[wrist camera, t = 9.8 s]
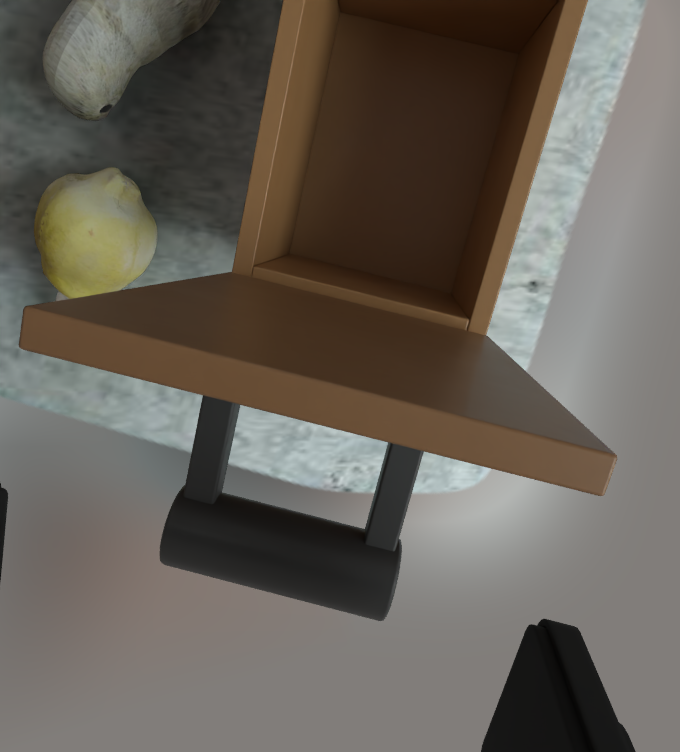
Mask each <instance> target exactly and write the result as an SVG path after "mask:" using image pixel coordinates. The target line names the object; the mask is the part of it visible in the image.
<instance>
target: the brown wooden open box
mask: <svg viewBox="0 0 680 752" xmlns="http://www.w3.org/2000/svg"><path fill="white" fill-rule="evenodd" d="M587 2H588V0H283V4H282V9H281V14H280V20H279V25H278V30H277V36H276V41H275V46H274V52H273V57H272V62H271V68H270V73H269V78H268V83H267V89H266V94H265V99H264V105H263V110H262V115H261V121H260V126H259V131H258V137H257V142H256V147H255V153H254V158H253V163H252V168H251V174H250V179H249V184H248V190H247V195H246V200H245V206H244V211H243V216H242V222H241V227H240V232H239V238H238V243H237V248H236V254H235V259H234V264H233V269H232V272H233V273H237V274H241V275H245V276H249V277H253V278H257V279H261V280H265V281H269V282H273V283H277V284H281V285H285V286H289V287H293V288H297V289H301V290H305V291H309V292H313V293H317V294H321V295H325V296H329V297H333V298H337V299H341V300H345V301H349V302H353V303H357V304H361V305H365V306H369V307H374V308H378V309H382V310H386V311H390V312H394V313H398V314H402V315H406V316H410V317H414V318H418V319H422V320H426V321H430V322H434V323H438V324H442V325H446V326H450V327H454V328H458V329H462V330H466V331H470V332H474V333H478V334H482V335H486V334H487V331H488V327H489V324H490V321H491V318H492V314H493V311H494V308H495V304H496V301H497V298H498V295H499V291H500V288H501V285H502V281H503V278H504V275H505V272H506V268H507V265H508V262H509V258H510V255H511V252H512V248H513V245H514V242H515V239H516V235H517V232H518V229H519V225H520V222H521V219H522V216H523V212H524V209H525V206H526V202H527V199H528V196H529V193H530V189H531V186H532V183H533V179H534V176H535V173H536V170H537V166H538V163H539V160H540V156H541V153H542V150H543V147H544V143H545V140H546V137H547V133H548V130H549V127H550V123H551V120H552V117H553V114H554V110H555V107H556V104H557V100H558V97H559V94H560V91H561V87H562V84H563V81H564V77H565V74H566V71H567V68H568V64H569V61H570V58H571V54H572V51H573V48H574V45H575V41H576V38H577V35H578V31H579V28H580V25H581V22H582V18H583V15H584V12H585V8H586V5H587Z"/></svg>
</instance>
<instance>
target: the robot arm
mask: <svg viewBox="0 0 680 752" xmlns="http://www.w3.org/2000/svg"><path fill="white" fill-rule="evenodd" d="M7 502H8V493H7V490H5V489H4V488H1V483H0V580H1V568H2V558H3V546H4V536H5V524H6V513H7ZM481 752H635V749H634V747H633V745H632V742H631V740H630V738H629V735H628V733H627V732H626V730H625V728H624V727H623V725H621V724H620V723H619V722H618V720H617V717H616V715H615V713H614V711H613V708H612V706H611V703H610V701H609V699H608V696H607V694H606V692H605V690H604V687H603V684H602V682H601V680H600V677H599V675H598V673H597V671H596V668H595V666H594V663H593V661H592V659H591V656H590V654H589V652H588V649H587V647H586V645H585V642H584V640H583V638H582V636H581V633H580V631H579V630H578V628H576V627H574V626H571V625H567V624H563V623H559V622H555V621H551V620H547V619H542V620H541V621H540V622H539V623H538V625H537V626H536V625H529V626H528V627H527V629H526V631H525V634H524V636H523V639H522V641H521V644H520V647H519V650H518V652H517V655H516V658H515V660H514V663H513V665H512V668H511V671H510V673H509V676H508V678H507V681H506V684H505V686H504V689H503V692H502V694H501V697H500V699H499V702H498V705H497V708H496V710H495V713H494V715H493V718H492V721H491V723H490V726H489V728H488V731H487V734H486V736H485V739H484V742H483V745H482V750H481Z"/></svg>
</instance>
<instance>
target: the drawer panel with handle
mask: <svg viewBox="0 0 680 752" xmlns="http://www.w3.org/2000/svg"><path fill="white" fill-rule="evenodd" d="M19 347H20V348H21V349H23V350H27V351H31V352H35V353H39V354H43V355H47V356H51V357H55V358H59V359H63V360H67V361H70V362H74V363H78V364H82V365H86V366H90V367H94V368H98V369H102V370H106V371H110V372H114V373H118V374H122V375H126V376H129V377H133V378H137V379H141V380H145V381H149V382H153V383H157V384H161V385H165V386H169V387H173V388H177V389H181V390H185V391H188V392H192V393H196V394H200V395H203V398H202V403H201V408H200V413H199V419H198V424H197V429H196V434H195V439H194V444H193V449H192V454H191V459H190V464H189V469H188V475H187V479H186V484H185V485H184V486H183V487H182V489H181V490H180V491H179V493H178V494H177V496H176V498H175V500H174V502H173V504H172V506H171V509H170V511H169V514H168V517H167V520H166V523H165V526H164V530H163V534H162V539H161V544H160V561H161V562H162V563H163V564H164V565H167V566H171V567H175V568H179V569H183V570H187V571H190V572H194V573H198V574H202V575H206V576H210V577H213V578H217V579H221V580H225V581H229V582H232V583H236V584H240V585H244V586H248V587H251V588H255V589H259V590H263V591H267V592H271V593H275V594H278V595H282V596H286V597H290V598H294V599H297V600H301V601H305V602H309V603H313V604H316V605H320V606H324V607H328V608H332V609H336V610H339V611H343V612H347V613H351V614H355V615H358V616H362V617H366V618H370V619H374V620H378V621H382V620H384V619H385V617H386V616H387V614H388V612H389V609H390V606H391V603H392V600H393V596H394V593H395V588H396V584H397V580H398V574H399V569H400V562H401V553H402V545H401V540H400V539H399V536H400V533H401V529H402V525H403V522H404V518H405V515H406V511H407V508H408V504H409V501H410V497H411V494H412V490H413V487H414V483H415V480H416V476H417V473H418V469H419V466H420V462H421V459H422V455H423V452H424V451H425V452H428V453H432V454H436V455H440V456H444V457H448V458H452V459H456V460H460V461H464V462H468V463H472V464H476V465H480V466H484V467H487V468H491V469H496V470H499V471H503V472H507V473H511V474H515V475H519V476H523V477H527V478H531V479H535V480H539V481H543V482H547V483H550V484H555V485H558V486H563V487H566V488H570V489H574V490H578V491H582V492H586V493H590V494H594V495H598V496H603V495H604V494H605V492H606V489H607V486H608V483H609V480H610V477H611V475H612V472H613V469H614V466H615V464H616V461H617V455H616V454H615V453H613V452H612V451H611V450H610V449H609V448H608V447H607V446H606V445H605V444H604V443H603V442H602V441H600V440H599V439H598V438H597V437H596V436H595V435H594V434H593V433H592V432H591V431H590V430H589V429H587V428H586V427H585V426H584V425H583V424H582V423H581V422H580V421H579V420H578V419H577V418H576V417H575V416H573V415H572V414H571V413H570V412H569V411H568V410H567V409H566V408H565V407H564V406H563V405H562V404H561V403H559V402H558V401H557V400H556V399H555V398H554V397H553V396H552V395H551V394H550V393H549V392H547V391H546V390H545V389H544V388H543V387H542V386H541V385H540V384H539V383H538V382H537V381H536V380H534V379H533V378H532V377H531V376H530V375H529V374H528V373H527V372H526V371H525V370H524V369H523V368H521V367H520V366H519V365H518V364H517V363H516V362H515V361H514V360H513V359H512V358H511V357H510V356H508V355H507V354H506V353H505V352H504V351H503V350H502V349H501V348H500V347H499V346H498V345H497V344H495V343H494V342H493V341H492V340H491V339H490V338H489V337H488V336H486V335H482V334H478V333H474V332H470V331H466V330H462V329H458V328H454V327H450V326H446V325H442V324H438V323H434V322H430V321H426V320H422V319H418V318H414V317H410V316H406V315H402V314H398V313H394V312H390V311H386V310H382V309H378V308H374V307H369V306H365V305H361V304H357V303H353V302H349V301H345V300H341V299H337V298H333V297H329V296H325V295H321V294H317V293H313V292H309V291H305V290H301V289H297V288H293V287H289V286H285V285H281V284H277V283H273V282H269V281H265V280H261V279H257V278H253V277H249V276H245V275H241V274H237V273H233V272H228V273H222V274H216V275H210V276H204V277H198V278H192V279H186V280H180V281H174V282H168V283H162V284H156V285H150V286H144V287H138V288H132V289H126V290H120V291H114V292H108V293H102V294H96V295H90V296H84V297H78V298H72V299H66V300H60V301H54V302H48V303H42V304H36V305H30V306H25V308H24V310H23V317H22V324H21V332H20V340H19ZM240 405H244V406H247V407H251V408H255V409H259V410H263V411H267V412H271V413H275V414H279V415H283V416H287V417H291V418H295V419H299V420H303V421H307V422H310V423H314V424H318V425H322V426H326V427H330V428H334V429H338V430H342V431H346V432H350V433H354V434H358V435H362V436H366V437H369V438H373V439H377V440H381V441H385V442H388V446H387V449H386V453H385V457H384V461H383V464H382V468H381V472H380V475H379V479H378V483H377V486H376V490H375V494H374V498H373V501H372V505H371V509H370V512H369V516H368V520H367V524H366V527H365V529H362V528H358V527H354V526H350V525H346V524H342V523H339V522H335V521H331V520H327V519H323V518H319V517H315V516H311V515H308V514H304V513H300V512H296V511H292V510H288V509H284V508H280V507H276V506H272V505H269V504H265V503H261V502H257V501H253V500H249V499H246V498H242V497H238V496H234V495H230V494H226V493H222V489H223V483H224V479H225V474H226V470H227V465H228V460H229V455H230V451H231V446H232V441H233V437H234V432H235V427H236V422H237V418H238V413H239V408H240Z"/></svg>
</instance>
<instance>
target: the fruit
mask: <svg viewBox="0 0 680 752" xmlns="http://www.w3.org/2000/svg"><path fill="white" fill-rule="evenodd" d="M140 193H141V192H140V189H139V188H138V186H137V185H136V184H135V183H134V182H133V181H132V180H131V179H129V178H127V177H126V176H124V175H123V174H122V173H121V171H120V170H119V169H117V168H114V167H109V168H106V169H104V170H101V171H98V172H95V173H92V174H88V175H82V174H79V173H72V174H67V175H65V176H63V177H60V178H58V179H57V180H55V181H54V182H53V183H51V184H50V185H49V186H48V187H47V189H46V190H45V191H44V193H43V195H42V196H41V199H40V202H39V205H38V208H37V212H36V217H35V223H34V236H35V242H36V245H37V248H38V250H39V252H40V254H41V263H42V268H43V274H44V275H45V276H46V277H47V278H48V279H49V281H50V282H51V283H52V284H53V285H54V286H55V288H56V289H57V290H58V294H57V296H56V299H55V301H60V300H66V299H72V298H78V297H84V296H90V295H96V294H102V293H108V292H114V291H119V290H121V289H122V288H124V287H125V286H127V285H128V284H129V283H131V282H132V281H134V280H135V279H136V278H137V277H139V276H140V275H141V274H142V273H143V272H144V271H145V270H146V268H147V267H148V265H149V264H150V262H151V260H152V258H153V255H154V252H155V250H156V245H157V226H156V223H155V220H154V218H153V216H152V215H151V213H150V212H149V211H148V209H147V208H146V207H145V205H144V203H143V200H142V197H141V194H140Z"/></svg>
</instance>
